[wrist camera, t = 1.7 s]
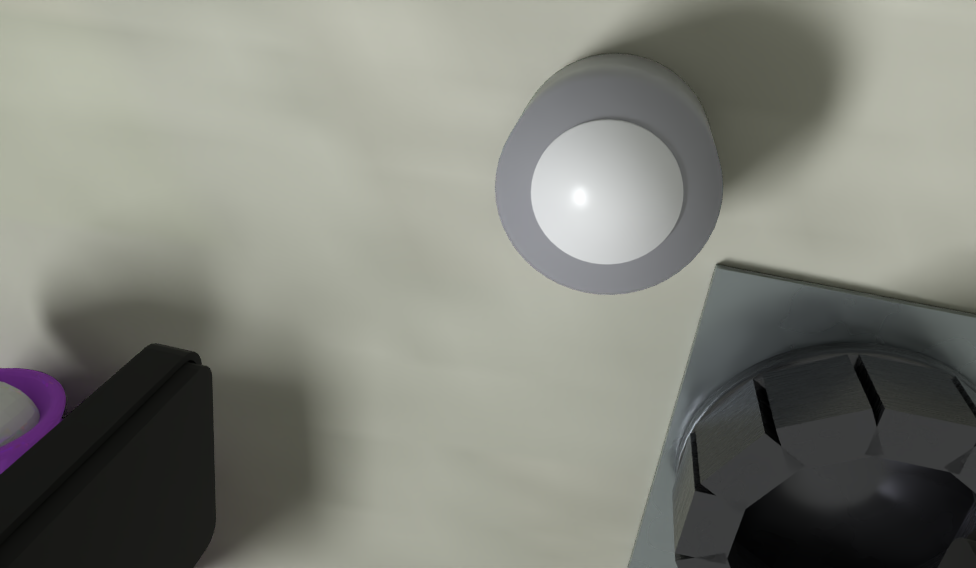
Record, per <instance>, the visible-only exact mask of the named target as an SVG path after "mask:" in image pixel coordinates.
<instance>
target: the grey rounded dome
mask: <svg viewBox="0 0 976 568" xmlns="http://www.w3.org/2000/svg"><path fill="white" fill-rule="evenodd" d="M495 192H496V203H497V208H498V213H499V216H500V219H501V222H502V225H503V228H504V230H505V232H506V234H507V236H508V238H509V240H510V241H511V243H512V244H513V246H514V247H515V249H516V250H517V251H518V252H519V254H520V255H521V256H522V257H523V258H524V259H525V261H527V262H528V263H529V264H530V265H531V266H532V267H533V268H534V269H535V270H537V271H538V272H540V273H541V274H543V275H544V276H545V277H547V278H549V279H551V280H553V281H554V282H556V283H558V284H560V285H563V286H566V287H568V288H571V289H574V290H578V291H582V292H586V293H593V294H607V295H614V294H625V293H631V292H635V291H640V290H643V289H646V288H649V287H652V286H655V285H657V284H659V283H661V282H663V281H665V280H667V279H669V278H670V277H672V276H673V275H675V274H676V273H678V272H679V271H681V270H682V269H683V268H684V267H685V266H686V265H688V264H689V263H690V262H691V261H692V260H693V259H694V258H695V257H696V255H697V254H698V253H699V252H700V251H701V249H702V248H703V247H704V245H705V244H706V242H707V241H708V239H709V237H710V235H711V233H712V231H713V230H714V227H715V225H716V222H717V219H718V216H719V213H720V208H721V203H722V195H723V179H722V170H721V165H720V161H719V156H718V153H717V150H716V146H715V143H714V139H713V136H712V132H711V129H710V125H709V122H708V119H707V116H706V114H705V111H704V108H703V106H702V105H701V103H700V101H699V99H698V97H697V96H696V95H695V93H694V92H693V91H692V89H691V88H690V87H689V86H688V85H687V84H686V83H685V82H684V81H683V80H682V79H681V78H680V77H679V76H678V75H677V74H675V73H674V72H673V71H671V70H670V69H668V68H666V67H665V66H663V65H661V64H659V63H657V62H655V61H652V60H650V59H647V58H644V57H640V56H635V55H630V54H619V53H617V54H602V55H596V56H591V57H588V58H585V59H581V60H578V61H576V62H574V63H572V64H570V65H568V66H566V67H564V68H563V69H561V70H560V71H558V72H556V73H555V74H554V75H553V76H551V77H550V78H549V79H548V80H547V81H546V82H545V83H544V84H543V85H542V86H541V87H540V88H539V89H538V90H537V92H536V93H535V94H534V96H533V97H532V99H531V100H530V102H529V103H528V105H527V107H526V108H525V110H524V112H523V113H522V115H521V117H520V118H519V120H518V122H517V123H516V125H515V127H514V129H513V130H512V132H511V134H510V135H509V137H508V139H507V141H506V143H505V145H504V147H503V150H502V153H501V156H500V158H499V162H498V167H497V172H496V182H495Z"/></svg>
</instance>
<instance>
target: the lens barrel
mask: <svg viewBox="0 0 976 568" xmlns="http://www.w3.org/2000/svg"><path fill="white" fill-rule="evenodd" d="M975 530H976V314H972V313H966V312H961V311H956V310H951V309H946V308H940V307H935V306H930V305H925V304H920V303H914V302H909V301H904V300H899V299H894V298H888V297H883V296H878V295H873V294H868V293H862V292H857V291H852V290H847V289H841V288H836V287H831V286H826V285H821V284H815V283H810V282H805V281H800V280H795V279H789V278H784V277H779V276H774V275H769V274H763V273H758V272H753V271H748V270H743V269H737V268H732V267H727V266H722V265H716V266H715V269H714V273H713V276H712V280H711V283H710V287H709V290H708V294H707V297H706V300H705V304H704V307H703V311H702V314H701V318H700V321H699V324H698V328H697V331H696V335H695V338H694V342H693V345H692V348H691V352H690V355H689V359H688V362H687V366H686V369H685V372H684V376H683V379H682V383H681V386H680V390H679V393H678V397H677V400H676V403H675V407H674V410H673V414H672V417H671V421H670V424H669V427H668V431H667V434H666V438H665V441H664V445H663V448H662V451H661V455H660V458H659V462H658V465H657V469H656V472H655V476H654V479H653V482H652V486H651V489H650V493H649V496H648V500H647V503H646V506H645V510H644V513H643V517H642V520H641V524H640V527H639V530H638V534H637V537H636V541H635V544H634V548H633V551H632V554H631V558H630V561H629V565H628V568H938V566H939V564H940V562H941V560H942V559H943V557H944V555H945V553H946V551H947V549H948V548H949V546H950V544H951V543H952V542H953V541H954V540H955V539H957V538H965V539H966V538H967V537H968V535H969V534H970V533H972V532H973V531H975Z"/></svg>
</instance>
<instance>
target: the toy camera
mask: <svg viewBox="0 0 976 568" xmlns="http://www.w3.org/2000/svg"><path fill="white" fill-rule="evenodd" d="M65 404H66V395H65V391H64V389H63V387H62V385H61V384H60V383H59V382H58V381H57V380H56V379H55V378H53V377H52V376H50V375H48V374H45V373H43V372H39V371H35V370H29V369H20V368H0V474H1V473H3V472H4V471H5V470H6V469H7V468H8V467H9V466H11V465H12V464H13V463H14V462H15V461H16V460H17V459H19V458H20V457H21V456H22V455H23V454H24V453H25V452H27V451H28V450H29V449H30V448H31V447H32V446H33V445H35V444H36V443H37V442H38V441H39V440H40V439H41V438H43V437H44V436H45V435H46V434H47V433H48V432H49V431H51V430H52V429H53V428H54V427H55V426H56V425H57V424H59V423H60V422H61V421H62V420H63V419H61V417H62V415H63V412H64V409H65Z"/></svg>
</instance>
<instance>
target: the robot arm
mask: <svg viewBox="0 0 976 568" xmlns="http://www.w3.org/2000/svg"><path fill="white" fill-rule="evenodd" d="M215 522H216V509H215V470H214V432H213V393H212V373H211V370H210V368H209V367H207V366H204V365H202V363H201V359H200V357H199V355H198V354H197V353H195V352H192V351H188V350H184V349H179V348H175V347H170V346H166V345H161V344H157V343H155V344H150V345H149V346H147V347H145V348H144V349H143V350H142V351H141V352H140V353H139V354H137V355H136V356H135V357H134V358H133V359H132V360H131V361H129V362H128V363H127V364H126V365H125V366H124V367H123V368H121V369H120V370H119V371H118V372H117V373H116V374H115V375H113V376H112V377H111V378H110V379H109V380H108V381H107V382H105V383H104V384H103V385H102V386H101V387H100V388H99V389H97V390H96V391H95V392H94V393H93V394H92V395H91V396H89V397H88V398H87V399H86V400H85V401H84V402H83V403H81V404H80V405H79V406H78V407H77V408H76V409H75V410H73V411H72V412H71V413H70V414H69V415H68V416H67V417H65V418H64V419H63V420H62V421H61V422H60V423H59V424H57V425H56V426H55V427H54V428H53V429H52V430H51V431H49V432H48V433H47V434H46V435H45V436H44V437H43V438H41V439H40V440H39V441H38V442H37V443H36V444H35V445H33V446H32V447H31V448H30V449H29V450H28V451H27V452H25V453H24V454H23V455H22V456H21V457H20V458H19V459H17V460H16V461H15V462H14V463H13V464H12V465H11V466H9V467H8V468H7V469H6V470H5V471H4V472H3V473H1V474H0V568H193V567H194V566H195V564H196V563H197V562H198V560H199V559H200V557H201V556H202V554H203V553H204V551H205V550H206V548H207V547H208V545H209V543H210V540H211V538H212V535H213V532H214V528H215ZM938 568H976V530H975V531H973V532H972V533H970V534H969V535H968V537H967V538H966V539H965V538H957V539H955V540H954V541H953V542H952V543H951V544H950V546H949V548H948V549H947V551H946V553H945V555H944V557H943V559H942V560H941V562H940V564H939V566H938Z"/></svg>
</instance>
